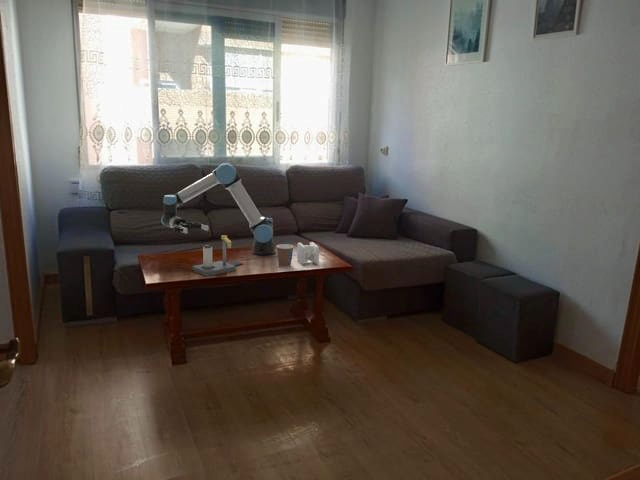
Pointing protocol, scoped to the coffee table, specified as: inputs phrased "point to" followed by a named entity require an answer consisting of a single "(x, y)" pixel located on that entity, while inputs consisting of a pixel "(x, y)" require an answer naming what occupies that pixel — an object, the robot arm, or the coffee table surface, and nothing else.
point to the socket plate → (216, 266)
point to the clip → (224, 237)
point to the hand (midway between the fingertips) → (197, 229)
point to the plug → (207, 257)
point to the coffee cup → (284, 254)
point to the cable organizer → (307, 253)
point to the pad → (235, 263)
